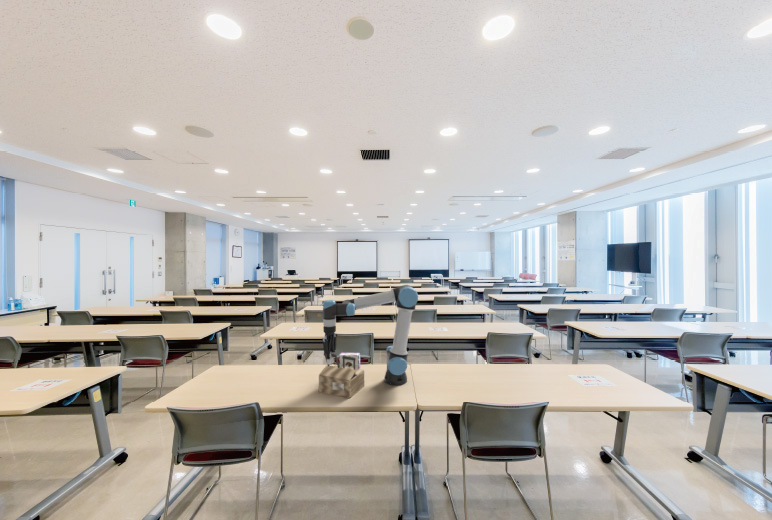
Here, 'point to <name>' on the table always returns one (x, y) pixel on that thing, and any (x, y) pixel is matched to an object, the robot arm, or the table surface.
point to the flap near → (337, 371)
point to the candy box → (350, 362)
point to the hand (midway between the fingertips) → (330, 363)
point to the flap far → (353, 364)
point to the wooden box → (341, 385)
